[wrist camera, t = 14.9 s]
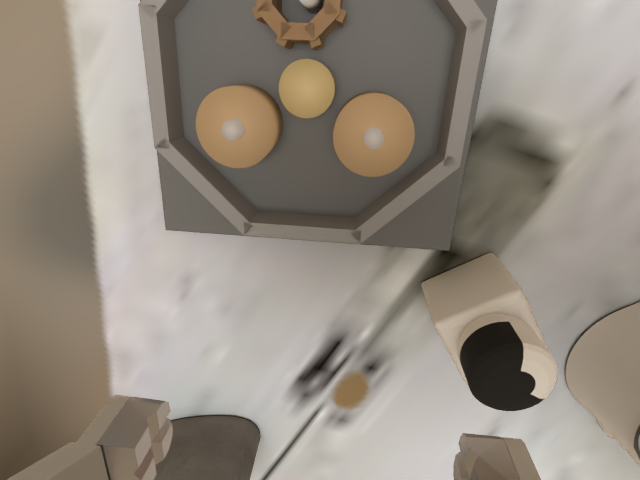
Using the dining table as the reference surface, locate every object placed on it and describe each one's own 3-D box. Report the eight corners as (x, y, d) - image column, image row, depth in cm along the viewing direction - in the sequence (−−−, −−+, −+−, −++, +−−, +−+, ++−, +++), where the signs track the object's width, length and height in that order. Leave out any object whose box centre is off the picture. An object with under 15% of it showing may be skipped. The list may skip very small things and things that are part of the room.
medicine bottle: (448, 336, 40) (485, 435, 29) (419, 281, 38) (446, 366, 27) (518, 309, 39) (585, 404, 28) (491, 250, 36) (552, 327, 25)
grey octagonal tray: (514, -112, 26) (556, -161, 21) (446, 246, 37) (463, 277, 31) (133, -123, 28) (78, -171, 22) (170, 226, 38) (139, 252, 32)
